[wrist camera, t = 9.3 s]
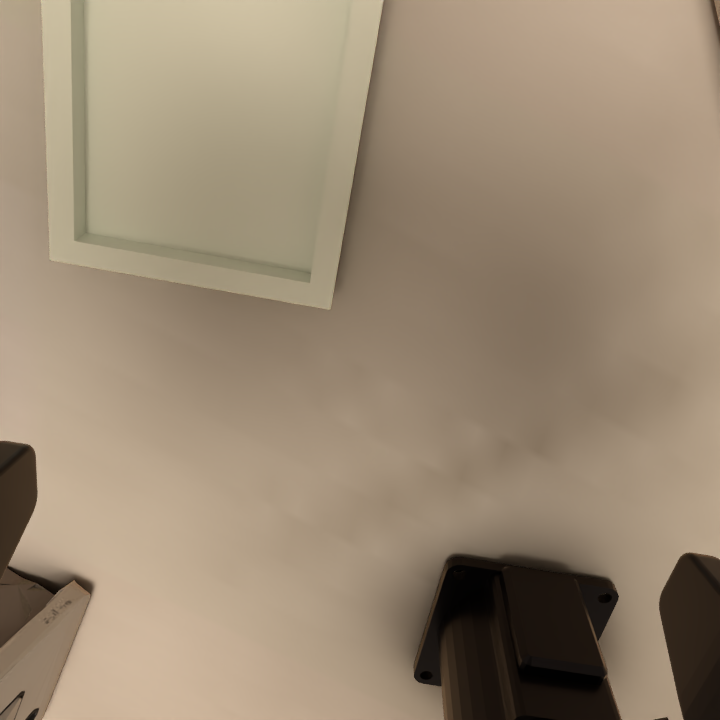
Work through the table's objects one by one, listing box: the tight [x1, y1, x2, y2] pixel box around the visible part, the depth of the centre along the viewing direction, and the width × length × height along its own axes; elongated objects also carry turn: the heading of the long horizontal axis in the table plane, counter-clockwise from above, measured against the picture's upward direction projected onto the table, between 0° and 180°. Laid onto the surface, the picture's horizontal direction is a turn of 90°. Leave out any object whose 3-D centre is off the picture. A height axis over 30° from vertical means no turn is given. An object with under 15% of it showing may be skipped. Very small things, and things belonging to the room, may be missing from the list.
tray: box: [41, 0, 384, 310], centre depth 18 cm, size 9×8×1 cm
